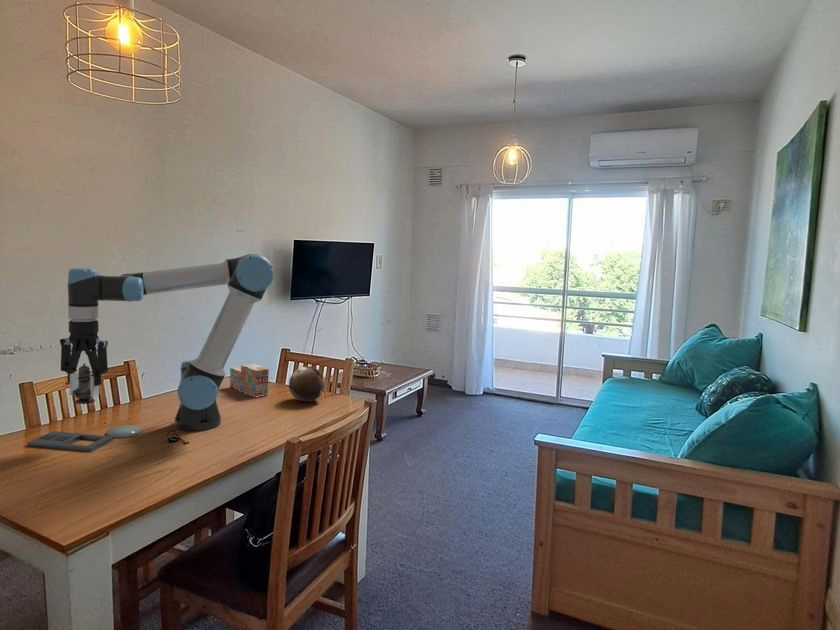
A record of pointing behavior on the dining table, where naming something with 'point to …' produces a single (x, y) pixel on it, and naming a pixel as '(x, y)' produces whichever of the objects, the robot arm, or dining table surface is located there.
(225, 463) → the dining table surface
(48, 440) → the grey compartment tray
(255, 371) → the stack of blocks
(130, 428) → the coaster
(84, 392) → the dark grey chess piece
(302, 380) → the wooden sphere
